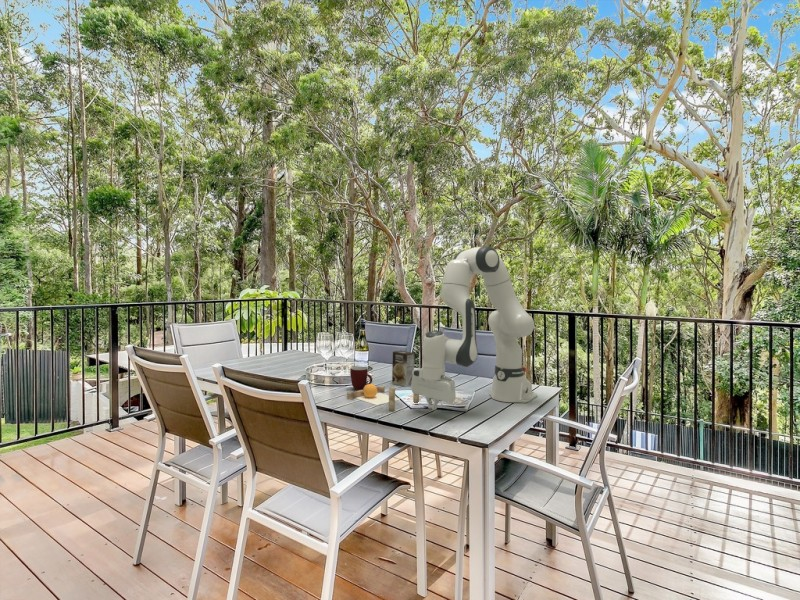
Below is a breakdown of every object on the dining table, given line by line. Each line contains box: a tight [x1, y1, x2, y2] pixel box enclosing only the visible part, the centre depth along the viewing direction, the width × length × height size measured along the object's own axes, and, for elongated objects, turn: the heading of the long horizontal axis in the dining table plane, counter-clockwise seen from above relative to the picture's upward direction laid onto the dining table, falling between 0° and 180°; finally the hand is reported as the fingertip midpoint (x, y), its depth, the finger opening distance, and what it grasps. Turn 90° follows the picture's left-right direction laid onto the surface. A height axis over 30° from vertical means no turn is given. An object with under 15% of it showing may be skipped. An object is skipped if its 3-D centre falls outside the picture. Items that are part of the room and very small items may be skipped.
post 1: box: [388, 386, 396, 412], centre depth 182 cm, size 2×2×9 cm
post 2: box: [412, 392, 420, 403], centre depth 192 cm, size 2×2×9 cm
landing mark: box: [355, 392, 401, 406], centre depth 199 cm, size 14×14×1 cm
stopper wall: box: [346, 385, 386, 400], centre depth 204 cm, size 20×2×2 cm, turn 134°
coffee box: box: [391, 350, 415, 388], centre depth 225 cm, size 9×6×16 cm
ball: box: [363, 383, 377, 398], centre depth 200 cm, size 6×6×6 cm
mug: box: [349, 366, 373, 391], centre depth 214 cm, size 10×8×10 cm
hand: (432, 409), depth 178 cm, fingers closed
